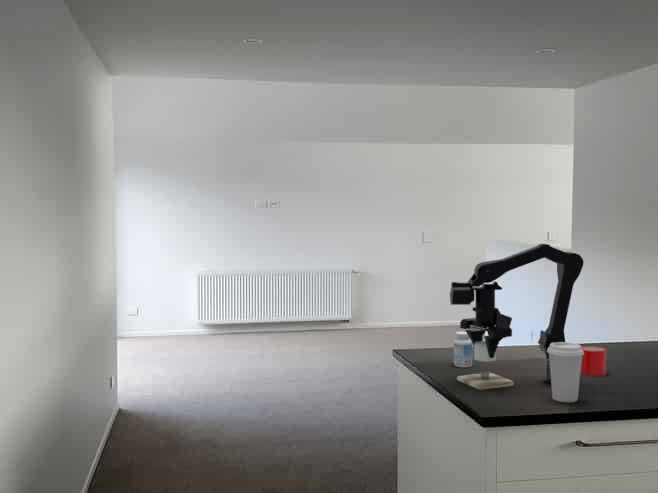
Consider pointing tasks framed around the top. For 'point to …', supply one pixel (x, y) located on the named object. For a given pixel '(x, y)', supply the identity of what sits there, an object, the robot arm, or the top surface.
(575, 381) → the coffee cup
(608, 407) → the top surface
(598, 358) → the mug
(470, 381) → the holder
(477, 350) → the cap
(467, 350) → the pill bottle
